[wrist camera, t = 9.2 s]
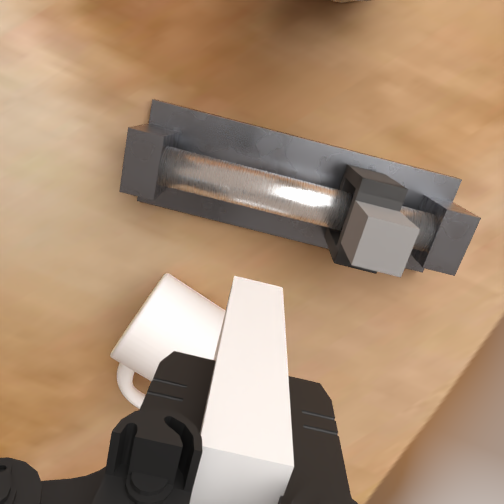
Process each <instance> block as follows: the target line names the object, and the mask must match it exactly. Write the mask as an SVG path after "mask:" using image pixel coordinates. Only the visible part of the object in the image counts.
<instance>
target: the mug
mask: <svg viewBox="0 0 504 504" xmlns="http://www.w3.org/2000/svg"><path fill="white" fill-rule="evenodd" d="M225 311H226V310H224V309H223V308H221V307H219V306H218V305H216V304H215V303H213V302H212V301H210V300H209V299H207V298H206V297H204V296H203V295H201V294H200V293H198V292H196V291H195V290H193V289H192V288H190V287H189V286H187V285H186V284H184V283H183V282H181V281H180V280H178V279H177V278H175V277H173V276H172V275H170V274H169V273H165V274H164V275H163V277H162V278H161V279H160V281H159V282H158V283H157V285H156V286H155V288H154V289H153V291H152V292H151V293H150V295H149V296H148V298H147V299H146V301H145V302H144V304H143V305H142V306H141V308H140V309H139V311H138V312H137V314H136V315H135V317H134V318H133V320H132V321H131V323H130V324H129V326H128V327H127V329H126V330H125V332H124V333H123V335H122V336H121V338H120V339H119V341H118V342H117V344H116V345H115V347H114V348H113V350H112V352H111V354H110V356H111V358H113V359H115V360H116V361H118V362H120V363H119V366H118V369H117V383H118V386H119V389H120V391H121V393H122V394H123V395H124V397H125V398H126V399H127V400H128V401H129V402H130V403H131V404H133V405H134V406H136V407H137V408H139V409H140V407H141V405H142V403H143V400H144V398H145V396H146V395H145V394H144V393H142V392H140V391H139V390H138V389H136V388H135V387H134V385H133V375H134V372H136V373H138V374H140V375H141V376H143V377H145V378H146V379H148V380H150V381H151V382H152V380H153V377H154V375H155V372H156V370H157V368H158V365H159V363H160V361H162V360H163V359H164V358H166V357H167V356H168V355H170V354H171V353H172V352H173V351H177V352H181V353H185V354H189V355H194V356H198V357H202V358H207V359H211V360H214V355H215V351H216V347H217V343H218V339H219V335H220V331H221V327H222V323H223V319H224V315H225Z"/></svg>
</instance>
